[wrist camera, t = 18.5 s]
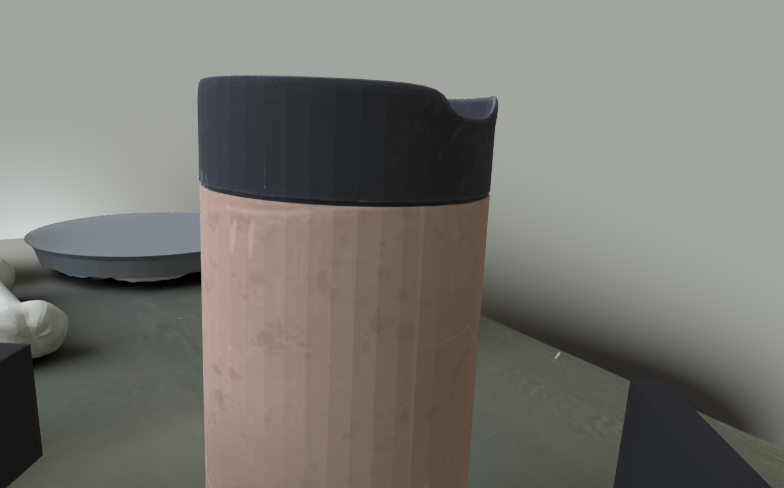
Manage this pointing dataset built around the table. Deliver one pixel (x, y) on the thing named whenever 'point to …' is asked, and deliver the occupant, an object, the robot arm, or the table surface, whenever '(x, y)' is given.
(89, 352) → the table surface
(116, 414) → the table surface
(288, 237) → the travel mug
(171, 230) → the flat disc
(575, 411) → the table surface
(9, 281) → the dog toy
